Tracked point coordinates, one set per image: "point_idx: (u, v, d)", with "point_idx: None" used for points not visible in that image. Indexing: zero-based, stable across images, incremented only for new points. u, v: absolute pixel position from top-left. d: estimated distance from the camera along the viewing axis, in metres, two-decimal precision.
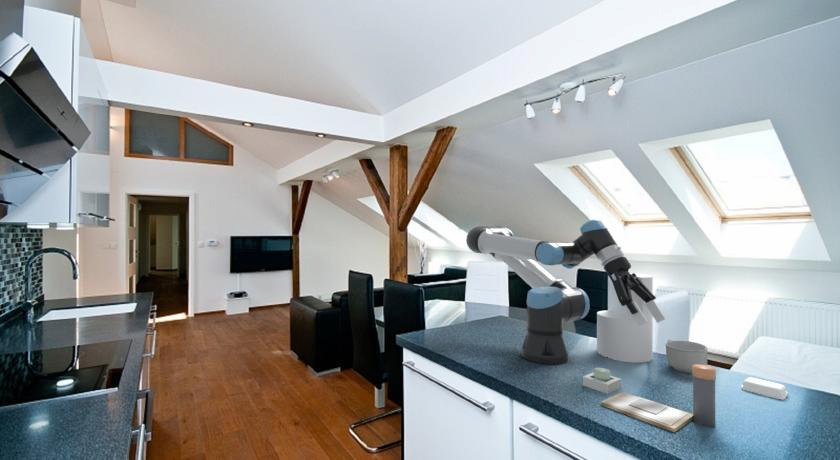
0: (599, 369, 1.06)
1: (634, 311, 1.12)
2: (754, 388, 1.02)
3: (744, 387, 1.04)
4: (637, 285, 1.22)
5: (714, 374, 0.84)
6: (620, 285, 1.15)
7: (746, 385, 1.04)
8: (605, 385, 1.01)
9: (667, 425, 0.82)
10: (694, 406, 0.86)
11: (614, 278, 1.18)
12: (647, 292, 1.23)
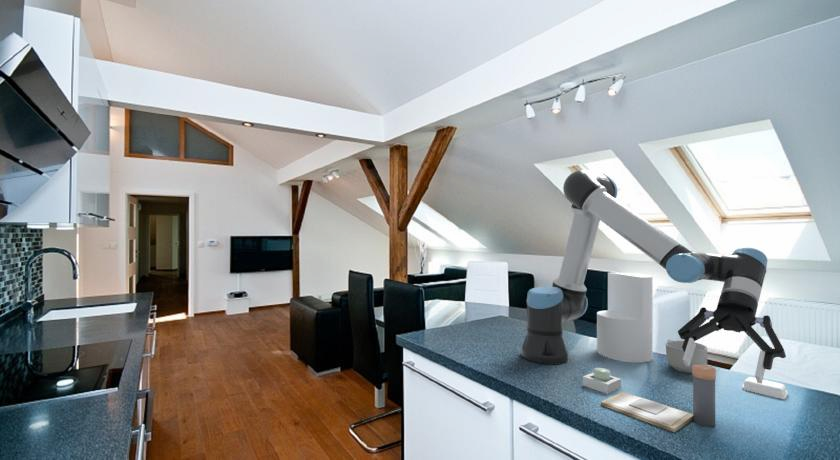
0: (599, 369, 1.06)
1: (770, 367, 0.83)
2: (755, 388, 1.03)
3: (745, 387, 1.04)
4: (716, 329, 0.96)
5: (714, 374, 0.84)
6: None
7: (747, 385, 1.04)
8: (605, 385, 1.01)
9: (667, 425, 0.82)
10: (694, 406, 0.86)
11: (770, 324, 0.89)
12: None
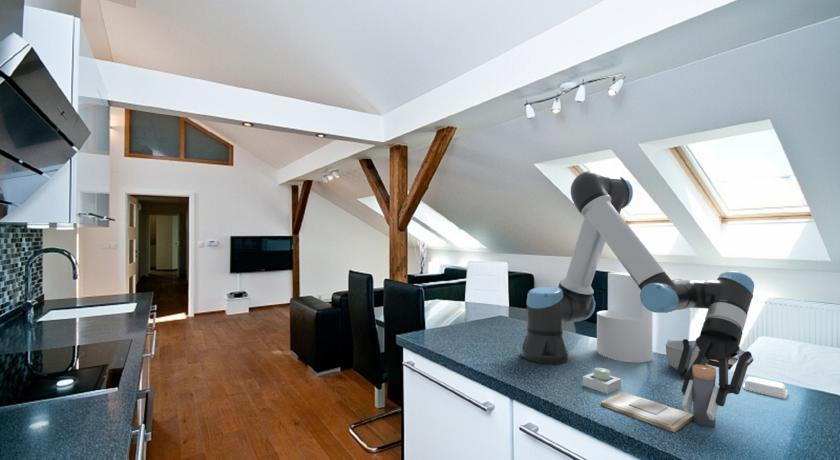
0: (599, 369, 1.06)
1: (723, 404, 0.82)
2: (757, 388, 1.03)
3: (746, 387, 1.04)
4: (707, 361, 0.91)
5: (714, 374, 0.84)
6: (744, 374, 0.84)
7: (748, 385, 1.04)
8: (605, 385, 1.01)
9: (667, 425, 0.82)
10: (694, 406, 0.86)
11: (748, 360, 0.85)
12: None
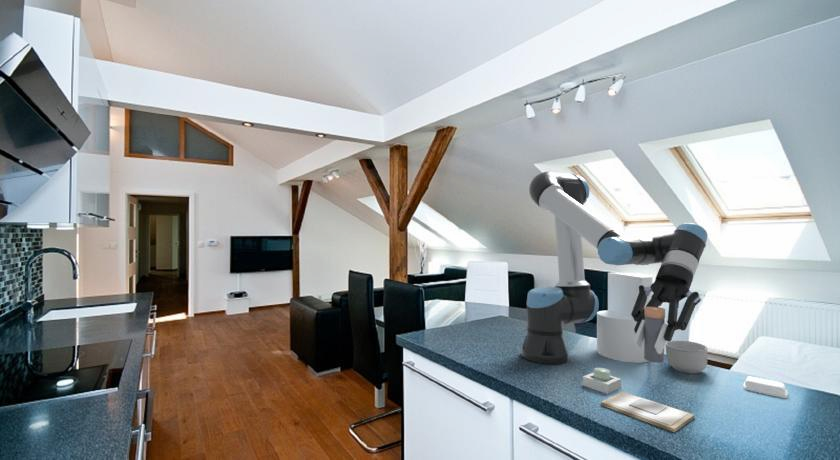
0: (599, 369, 1.06)
1: (670, 339, 0.87)
2: (757, 388, 1.03)
3: (747, 387, 1.04)
4: (659, 304, 0.96)
5: (663, 313, 0.89)
6: (691, 313, 0.90)
7: (749, 385, 1.04)
8: (605, 385, 1.01)
9: (667, 425, 0.82)
10: (645, 344, 0.91)
11: (696, 300, 0.90)
12: None
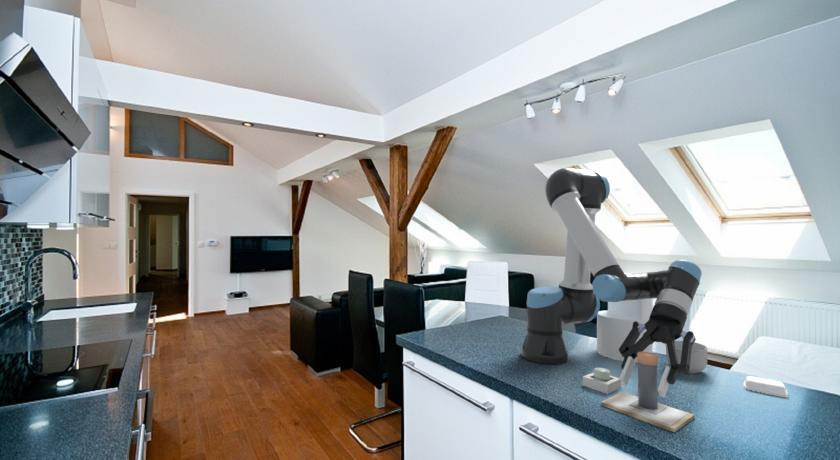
0: (599, 369, 1.06)
1: (673, 382, 0.86)
2: (758, 387, 1.03)
3: (748, 387, 1.04)
4: (651, 342, 0.97)
5: (656, 360, 0.90)
6: (690, 353, 0.89)
7: (750, 385, 1.04)
8: (605, 385, 1.01)
9: (667, 425, 0.82)
10: (638, 390, 0.92)
11: (691, 340, 0.91)
12: None
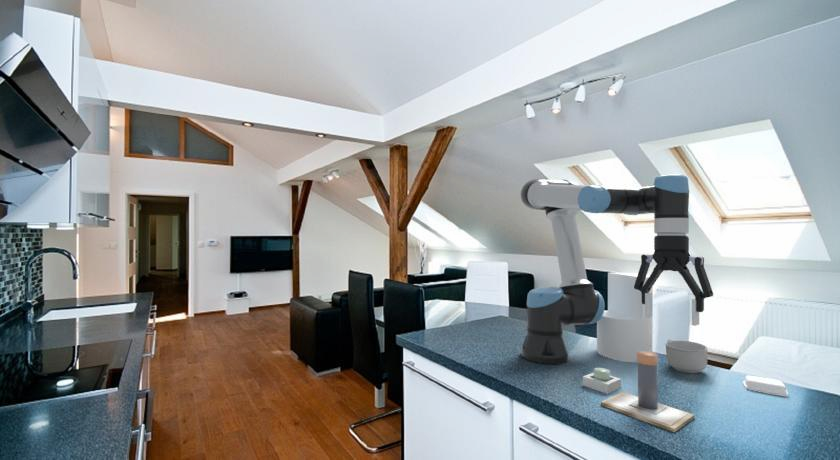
0: (599, 369, 1.06)
1: (703, 310, 0.94)
2: (759, 387, 1.03)
3: (749, 387, 1.04)
4: (662, 271, 1.02)
5: (655, 360, 0.90)
6: (706, 275, 0.94)
7: (751, 385, 1.04)
8: (605, 385, 1.01)
9: (667, 425, 0.82)
10: (638, 390, 0.92)
11: (701, 263, 0.94)
12: None
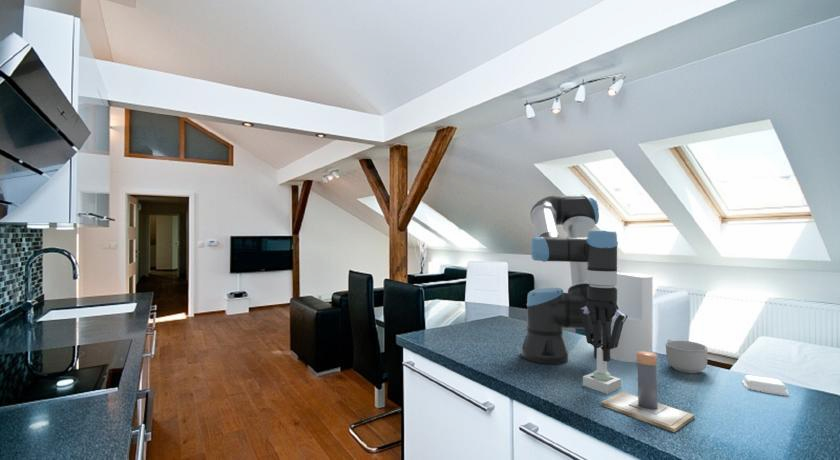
0: None
1: (609, 359, 1.04)
2: (760, 387, 1.03)
3: (750, 386, 1.05)
4: None
5: (655, 360, 0.89)
6: (620, 331, 1.02)
7: (752, 384, 1.04)
8: (605, 385, 1.01)
9: (667, 425, 0.82)
10: (638, 390, 0.92)
11: (622, 320, 1.01)
12: None
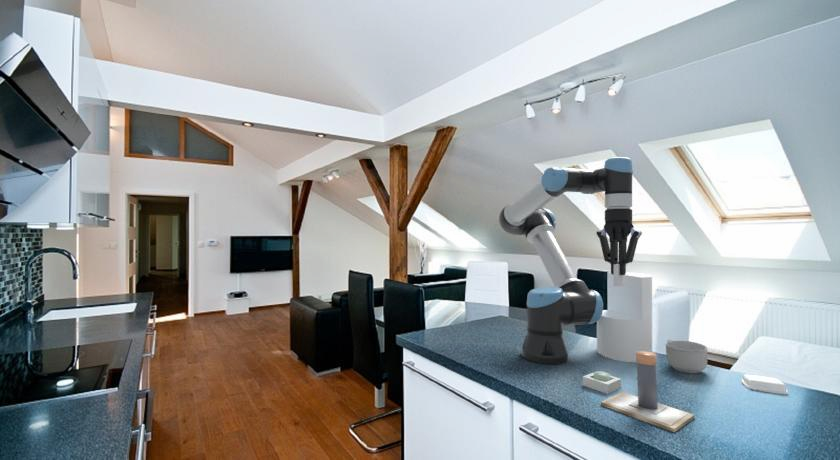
0: (599, 372, 1.06)
1: (624, 273, 1.16)
2: (761, 386, 1.04)
3: (751, 386, 1.05)
4: (617, 240, 1.19)
5: (654, 360, 0.90)
6: (635, 246, 1.14)
7: (753, 384, 1.05)
8: (605, 385, 1.01)
9: (667, 425, 0.82)
10: (638, 390, 0.92)
11: (637, 236, 1.13)
12: None
